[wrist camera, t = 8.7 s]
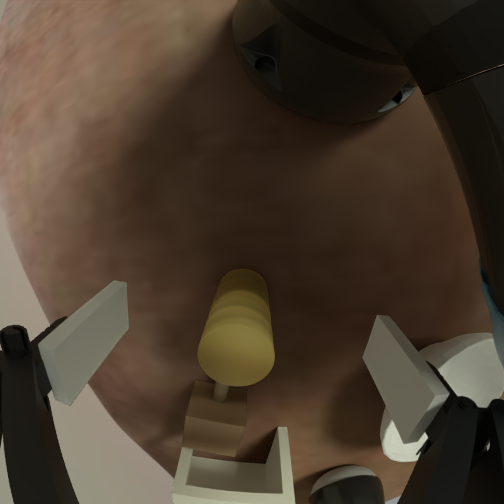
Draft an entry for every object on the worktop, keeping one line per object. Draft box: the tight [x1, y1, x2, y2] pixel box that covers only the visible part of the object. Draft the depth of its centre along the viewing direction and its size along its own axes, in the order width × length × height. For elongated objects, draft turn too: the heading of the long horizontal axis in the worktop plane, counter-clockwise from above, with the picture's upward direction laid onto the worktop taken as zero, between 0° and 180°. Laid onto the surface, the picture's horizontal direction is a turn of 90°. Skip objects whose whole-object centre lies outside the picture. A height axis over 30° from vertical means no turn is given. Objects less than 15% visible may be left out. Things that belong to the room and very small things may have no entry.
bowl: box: [380, 332, 504, 462], centre depth 22 cm, size 16×16×7 cm
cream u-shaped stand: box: [171, 427, 295, 504], centre depth 23 cm, size 9×10×10 cm
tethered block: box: [182, 269, 275, 457], centre depth 20 cm, size 17×5×9 cm, turn 167°
